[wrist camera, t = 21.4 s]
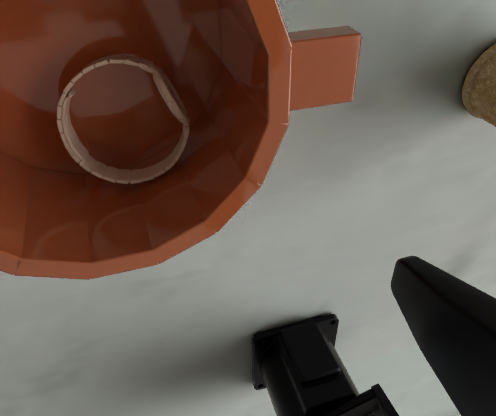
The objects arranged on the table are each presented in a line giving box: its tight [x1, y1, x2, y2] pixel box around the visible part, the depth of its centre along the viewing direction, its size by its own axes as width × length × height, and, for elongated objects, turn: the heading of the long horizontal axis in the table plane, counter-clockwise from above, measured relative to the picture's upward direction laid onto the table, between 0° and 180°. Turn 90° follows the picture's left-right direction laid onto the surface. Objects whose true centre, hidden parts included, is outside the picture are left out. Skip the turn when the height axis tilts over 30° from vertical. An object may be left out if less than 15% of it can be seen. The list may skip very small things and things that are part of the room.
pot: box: [0, 0, 362, 280], centre depth 16 cm, size 13×18×6 cm
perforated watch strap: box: [57, 54, 190, 184], centre depth 19 cm, size 3×5×5 cm
